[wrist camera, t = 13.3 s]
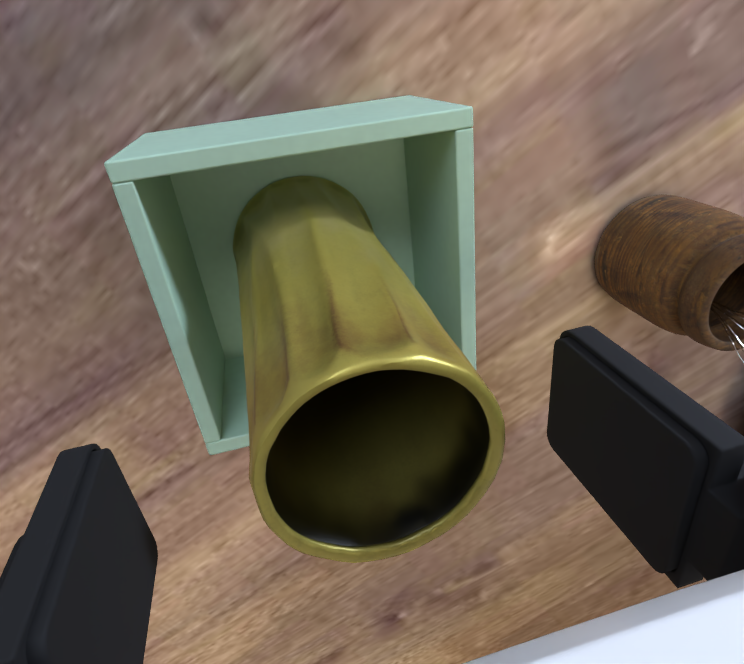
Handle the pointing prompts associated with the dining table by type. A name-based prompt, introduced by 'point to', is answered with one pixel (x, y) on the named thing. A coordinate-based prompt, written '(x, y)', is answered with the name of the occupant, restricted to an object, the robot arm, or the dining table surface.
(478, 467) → the vase
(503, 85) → the dining table surface
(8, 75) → the dining table surface
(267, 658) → the dining table surface
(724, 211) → the utensil holder
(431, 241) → the bin
